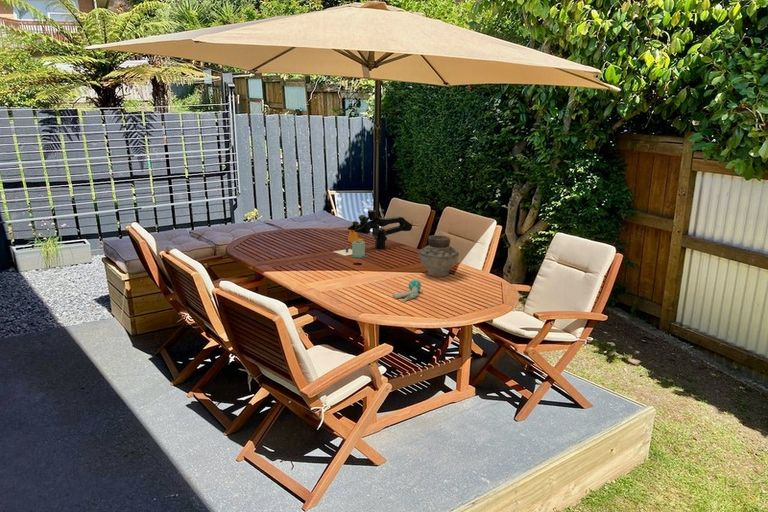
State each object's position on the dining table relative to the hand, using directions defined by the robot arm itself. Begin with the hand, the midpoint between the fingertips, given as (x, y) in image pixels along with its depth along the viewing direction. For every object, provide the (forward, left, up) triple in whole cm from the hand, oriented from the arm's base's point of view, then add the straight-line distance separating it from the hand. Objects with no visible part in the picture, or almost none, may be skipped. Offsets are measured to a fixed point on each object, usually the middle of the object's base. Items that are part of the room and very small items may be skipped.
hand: (351, 230), depth 419 cm
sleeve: (+3, +17, -15) cm, 23 cm away
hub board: (+5, +3, -16) cm, 17 cm away
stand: (+3, +17, -16) cm, 24 cm away
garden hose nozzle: (+15, +102, -17) cm, 104 cm away
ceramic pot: (-24, +74, -17) cm, 79 cm away
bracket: (-17, -26, -17) cm, 36 cm away
